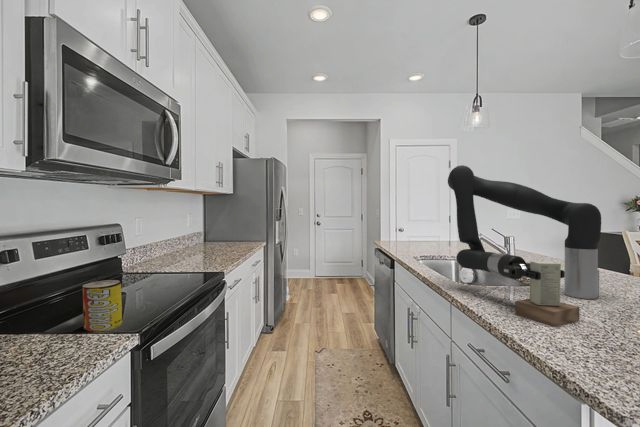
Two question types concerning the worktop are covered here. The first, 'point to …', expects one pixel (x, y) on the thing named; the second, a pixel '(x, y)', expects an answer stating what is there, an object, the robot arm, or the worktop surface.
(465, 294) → the worktop surface
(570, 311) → the walnut block
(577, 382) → the worktop surface
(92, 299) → the beverage can
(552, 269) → the skincare box
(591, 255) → the robot arm
